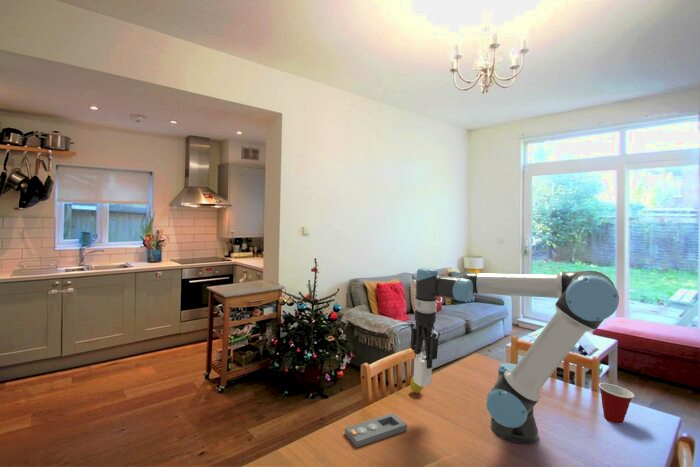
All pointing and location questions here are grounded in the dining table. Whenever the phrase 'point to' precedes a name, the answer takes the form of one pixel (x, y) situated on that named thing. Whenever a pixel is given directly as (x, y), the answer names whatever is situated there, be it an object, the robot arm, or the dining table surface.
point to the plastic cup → (615, 402)
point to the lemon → (415, 386)
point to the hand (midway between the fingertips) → (422, 373)
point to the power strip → (375, 429)
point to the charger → (420, 372)
